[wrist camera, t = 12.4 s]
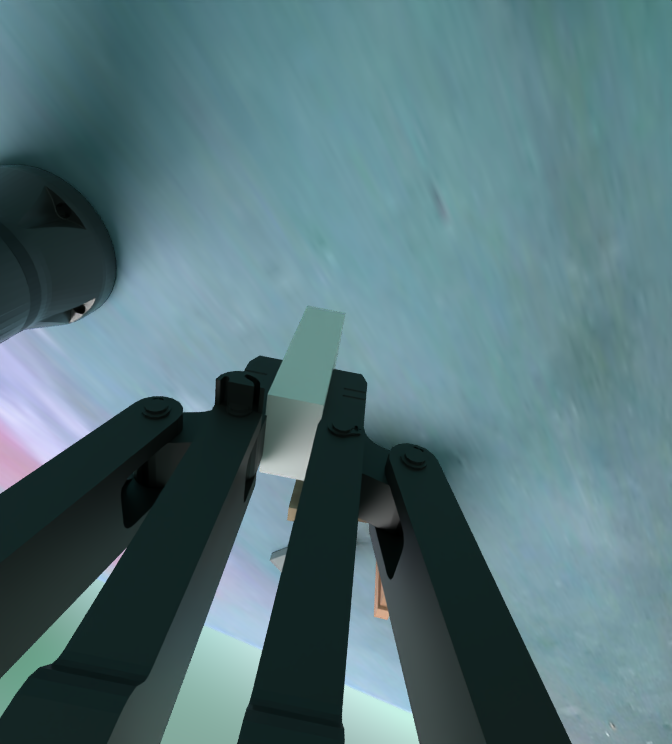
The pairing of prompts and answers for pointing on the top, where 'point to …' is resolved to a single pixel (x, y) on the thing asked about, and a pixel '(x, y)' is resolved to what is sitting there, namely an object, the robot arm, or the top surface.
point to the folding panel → (380, 598)
